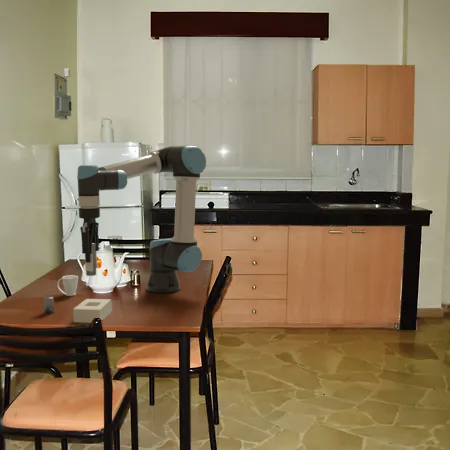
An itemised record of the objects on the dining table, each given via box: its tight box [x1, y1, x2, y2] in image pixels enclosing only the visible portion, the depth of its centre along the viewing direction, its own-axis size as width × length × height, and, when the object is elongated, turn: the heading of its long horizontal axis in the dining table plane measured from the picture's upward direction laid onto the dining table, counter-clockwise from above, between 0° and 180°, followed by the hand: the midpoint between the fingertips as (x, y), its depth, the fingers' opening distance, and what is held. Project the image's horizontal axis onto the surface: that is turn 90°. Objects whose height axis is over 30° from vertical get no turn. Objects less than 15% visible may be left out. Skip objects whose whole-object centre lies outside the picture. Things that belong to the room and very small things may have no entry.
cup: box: [56, 274, 79, 297], centre depth 237 cm, size 7×10×8 cm
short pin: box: [43, 295, 55, 315], centre depth 210 cm, size 4×4×6 cm
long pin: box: [85, 242, 97, 277], centre depth 202 cm, size 4×4×12 cm
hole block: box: [72, 298, 113, 324], centre depth 204 cm, size 10×14×5 cm
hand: (91, 269), depth 202 cm, fingers closed on long pin, 3 cm apart
